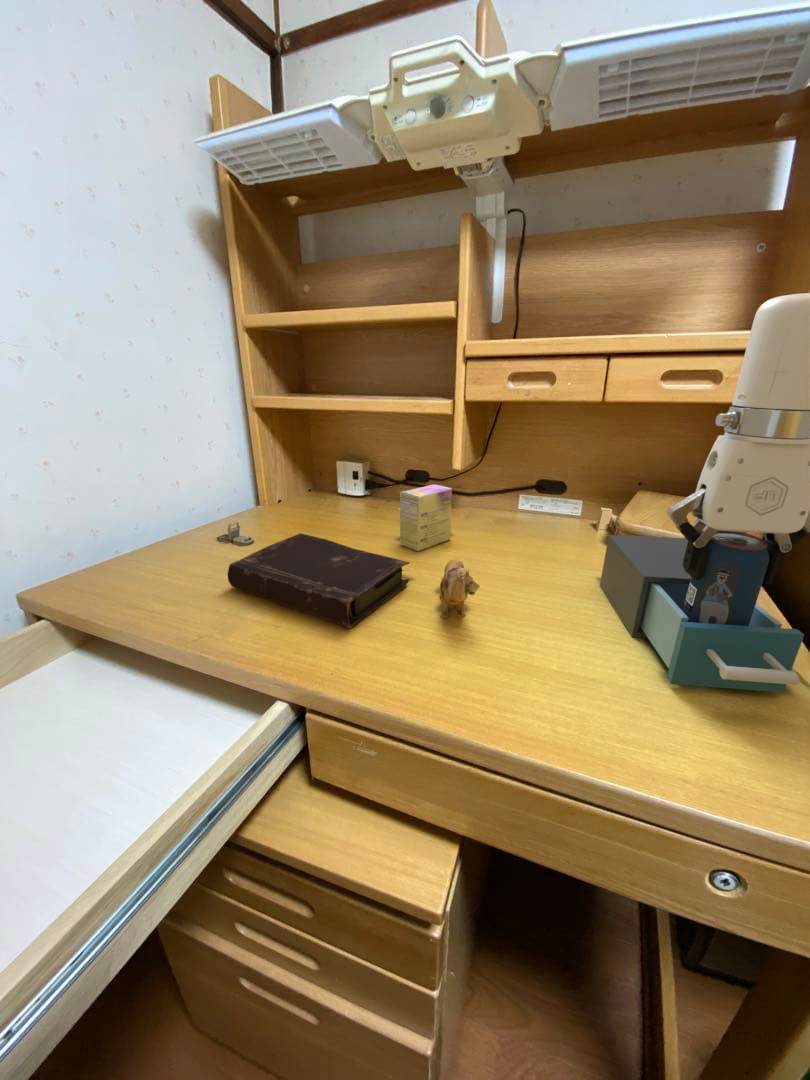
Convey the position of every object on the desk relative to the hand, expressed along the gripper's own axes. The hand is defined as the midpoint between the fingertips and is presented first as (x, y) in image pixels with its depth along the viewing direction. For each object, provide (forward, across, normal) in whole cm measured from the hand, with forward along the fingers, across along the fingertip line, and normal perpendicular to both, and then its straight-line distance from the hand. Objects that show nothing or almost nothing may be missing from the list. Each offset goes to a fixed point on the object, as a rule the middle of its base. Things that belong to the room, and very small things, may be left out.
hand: (726, 575), depth 55 cm
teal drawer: (+12, 0, 0) cm, 12 cm away
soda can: (+7, 0, 0) cm, 7 cm away
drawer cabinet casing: (+13, 0, +14) cm, 19 cm away
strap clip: (+13, -80, +34) cm, 88 cm away
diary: (+13, -55, +15) cm, 58 cm away
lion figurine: (+13, -32, +11) cm, 36 cm away
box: (+13, -39, +39) cm, 57 cm away
